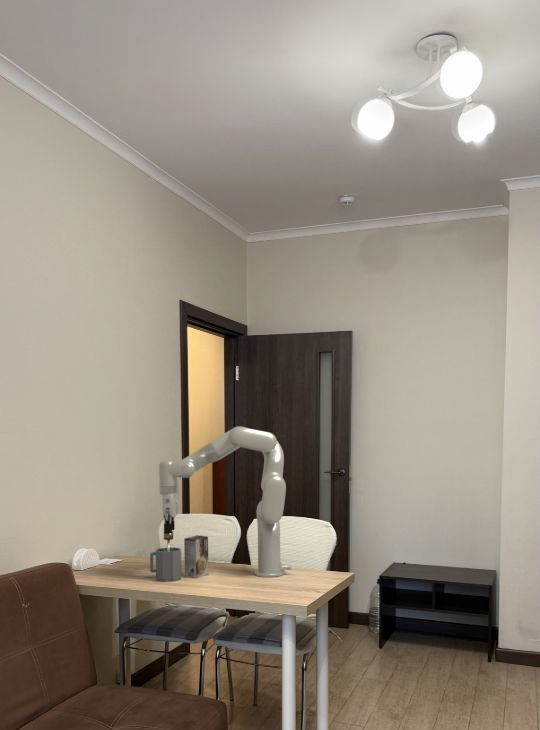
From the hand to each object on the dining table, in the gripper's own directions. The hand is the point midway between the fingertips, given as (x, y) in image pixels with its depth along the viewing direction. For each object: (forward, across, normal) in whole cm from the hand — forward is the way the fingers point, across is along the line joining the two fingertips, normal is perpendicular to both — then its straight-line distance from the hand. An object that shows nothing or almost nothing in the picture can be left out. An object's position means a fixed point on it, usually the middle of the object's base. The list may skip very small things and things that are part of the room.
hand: (169, 531), depth 290 cm
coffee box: (+20, +5, -10) cm, 23 cm away
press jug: (+19, 0, +2) cm, 19 cm away
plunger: (+17, 0, +1) cm, 17 cm away
